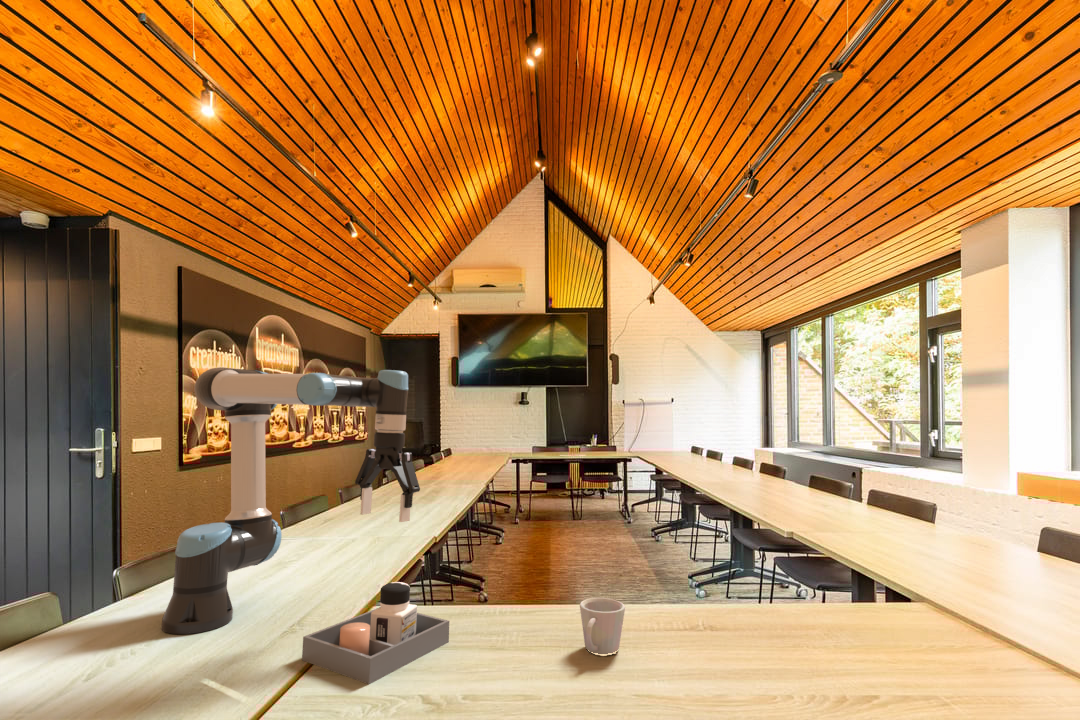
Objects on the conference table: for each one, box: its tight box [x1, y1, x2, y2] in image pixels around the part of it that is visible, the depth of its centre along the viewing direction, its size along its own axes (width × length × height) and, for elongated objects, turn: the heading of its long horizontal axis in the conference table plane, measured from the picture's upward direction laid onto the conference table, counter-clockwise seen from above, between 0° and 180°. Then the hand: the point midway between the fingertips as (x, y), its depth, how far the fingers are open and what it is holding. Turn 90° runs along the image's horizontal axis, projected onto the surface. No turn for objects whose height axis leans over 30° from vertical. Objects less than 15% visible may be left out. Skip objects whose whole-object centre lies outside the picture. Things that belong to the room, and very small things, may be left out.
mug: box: [579, 597, 626, 654], centre depth 127 cm, size 10×15×10 cm
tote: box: [301, 607, 450, 685], centre depth 124 cm, size 20×24×6 cm
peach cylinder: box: [339, 622, 370, 656], centre depth 118 cm, size 6×6×7 cm
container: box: [370, 581, 418, 645], centre depth 128 cm, size 8×8×13 cm
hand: (384, 517), depth 139 cm, fingers open, 13 cm apart
